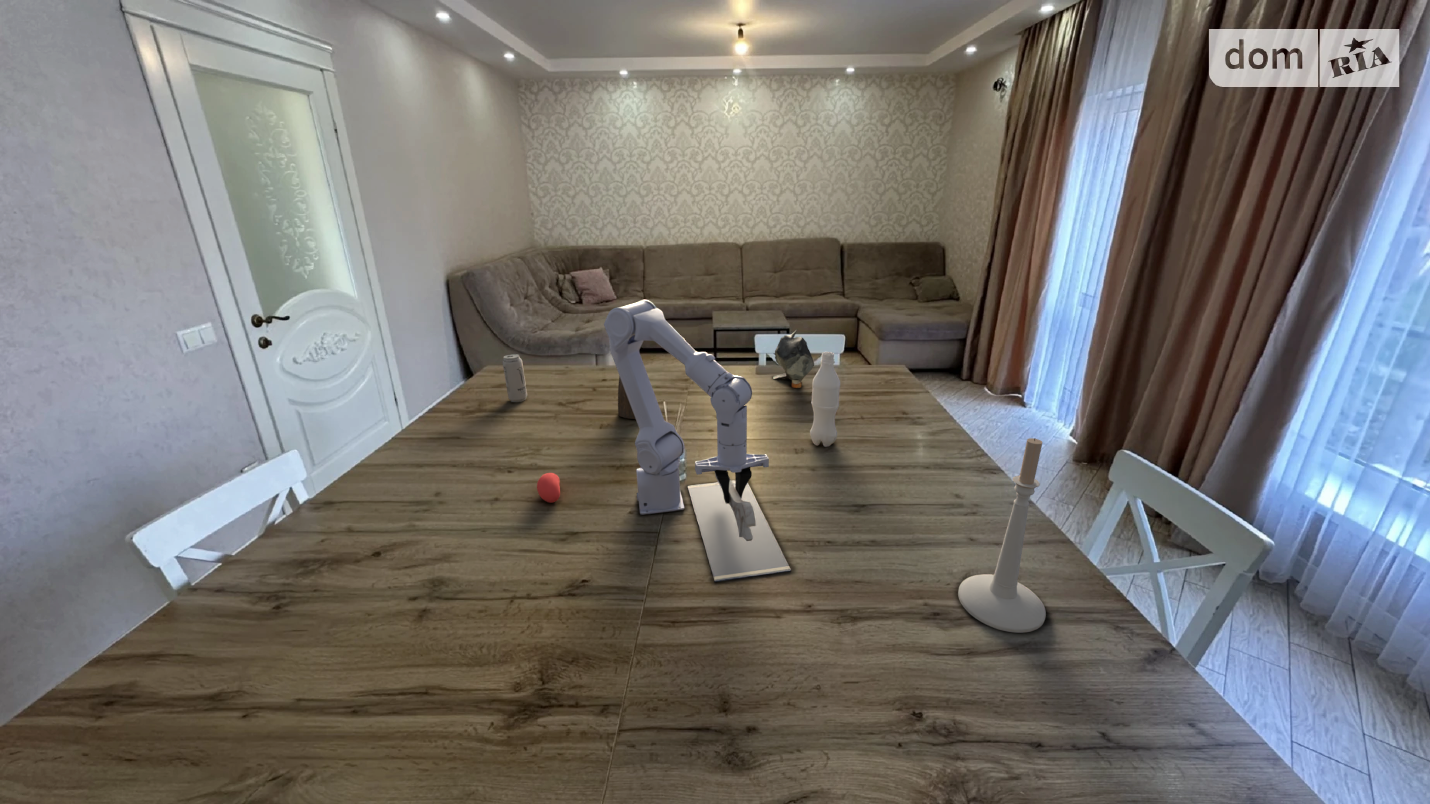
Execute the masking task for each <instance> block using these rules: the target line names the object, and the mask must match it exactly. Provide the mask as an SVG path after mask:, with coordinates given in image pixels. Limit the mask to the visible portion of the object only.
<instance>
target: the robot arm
mask: <svg viewBox="0 0 1430 804" xmlns="http://www.w3.org/2000/svg"><path fill="white" fill-rule="evenodd" d="M603 326H604V329H605V332H606V335H607V337H608V341H609V351H610V354H611V357H612V360H613V363H614V365H615V367H616V370H617V373H618V377H619V376H620V378H621V381H622V384H623V386H624V389H625V392H626V394H627V397H628V400H629V402H630V405H631V408H632V410H633V413H634V415H635V418H636V419H635V420H636V424H637V426H638V428H639V431H638V433H637V436H636V439H635V440H634V441H635V442H634V445H635V448H636V459H637V462H638V465H639V466H640V467H638V468H635V472H636V484H637V485H636V487H637V492H636V501H637V502H638V507H639V514H640V515H651V514H661V513H668V512H669V513H670V512H677V511H683V510H685V504H684V500H683V496H682V492H681V483H680V481H681V480H680V462H681V457H682V456H683V454H684V453H685V449H686V448H685V447H686V446H685V442H684V440H683V438H682V436H680V434H679V433H678V432H677V430H676V428H675V425H674V424H673V423H672V422H671V423H670V422H668V421H666V420H665V418H664V416H663V415H664V414H663V413H662V410H661V408H660V405H659V402H658V400H657V396H656V394H655V391H654V389H653V385H652V383H651V380H650V377H649V375H648V371H647V369H646V367H645V364H644V361H643V359H642V355H641V353H640V349H641V347H642V345H643V343H644V341H647V342H648V341H650V342H651V341H653V342H654V343H656V344H657V345H658V346H660V347H661V348H662V349H663V350H665V351H666V352H667V353H668V354H670V356H672V357H673V358H675V359H676V360H678V362H680V363H681V364H682V365H684V371H685V375H686V376H687V377H688V378H689V379H690V380H691V381H693V382H694V384H696V386H698V387H699V388H700V389H701V390H702V391H703V392H704V393H705V394H707V396H709V397H710V399H709V400H710V405H711V406H712V408H713V410H714V412H715V414H716V415H715V418H716V433H717V434H716V439H717V440H716V445H717V446H716V447H717V449H716V450H717V454H716V456H713V457H708V458H706V459H702V460H695V461H694V470H695V474H696V475H697V476H698V475H702V474H703V473H708V472H710V473H711V472H714V475H715V474H716V476H715V478H716V477H717V479H718V481H719V483H720V485H721V487H722V490H723V495H724V500H725V503H726V504H728V503H729V501H730V499H729V482H730V479H731V478H730V475H729V472H730V473H732V474H734V478H735V480H736V483H735V488H736V490H737V492H738V494H739V496H740V497H741V498H742V494H743V491H744V489H745V487H746V485H747V483H748V484H749V482H750V480H751V479H752V475H753V472H752V469H751V468H758V467H763V468H769V467H770V458H769V456H768V454H766V453H764V454H757V453H755V454H754V453H747V452H748V447H747V446H748V443H747V441H748V405H747V404H748V403H749V402H750V401H751V399H752V397H753V389H752V386H751V384H750V382H749V381H748V380H747V379H746V378H745V377H743V376H741V375H734V374H733V373H732V372H729V371H728V370H727V369H725V368H724V367H723V365H721V364H720V363H719V362H718V361H716V357H715V356H714V355H713V354H712V353H708V352H706V351H697V350H695V349H694V348H693V346H691V344H689V342H687V340H685V338H684V337H683V336H682V335H680V333H679V332H678V331H677V330H676V329H675V328H674V327H673V326H672V325H671V324H670V323H669V322H668V321H667V320H666V317H665V315H664V311H662V310H661V309H660V308H658V307H657V306H656V305H655V304H654V303H653V301H650V300H649V299H641V300H638V301H637V302H634V303H629V304H626V305H624V306H619V307H614V308H612V309H611V310H610V311H609V312H608V314H607V316H606V318H605V320H604V323H603ZM728 471H729V472H728ZM717 479H716V480H717ZM718 481H717V482H718Z"/></svg>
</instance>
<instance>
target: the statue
mask: <svg viewBox="0 0 1430 804" xmlns="http://www.w3.org/2000/svg"><path fill="white" fill-rule="evenodd" d="M617 413H618V414H617V415H618V416H619V417H621V418H624V419H627V420H636V418H635V415H634V413H633V410H632V408H631V405H630V402H629V400H628V397H627V394H626V392H625V389H624V386H623V384H622V381H621V378H620V376H619V375H618V388H617Z"/></svg>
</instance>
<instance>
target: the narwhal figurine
mask: <svg viewBox="0 0 1430 804" xmlns="http://www.w3.org/2000/svg"><path fill="white" fill-rule="evenodd" d="M797 332H798V329H795V330H794V331H793V332H792V333H791V334H789V335H786V334H785V335H783V336H782V337H780V339H779V342H778V343H777V346H776V348H775V350H774V359H775V362H776V364H777V365H778V366H780V367H781V368H782V369H783V370H784V373H781V374H777V375H774V376H773V378H772V379H773V380H788V381H789V380H791V388H793V389H799V388H802V386H803V385H802V384H803V382H802V381H803V379H804V378H805V377H806V376H808V374H809V373H810V372H811V371H812V370H813V368H814V366H815V362H814V359H813V356H812V353H811V351H810V349H809V347H808V343H807V341H806V339H805V338H804V337H802V336H796V334H797Z"/></svg>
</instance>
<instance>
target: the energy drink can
mask: <svg viewBox="0 0 1430 804" xmlns="http://www.w3.org/2000/svg"><path fill="white" fill-rule="evenodd" d="M502 368H503V374H504V380H505V387H506V392H507V397H508V400H510V402H511V403H522V402H524V401H526V400H527V398H528V390H527V384H526V377H525V370H524V364H523V360H522V358H521V356H520V354H516V353H511V354H505V355H504V356H503V360H502Z"/></svg>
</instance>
